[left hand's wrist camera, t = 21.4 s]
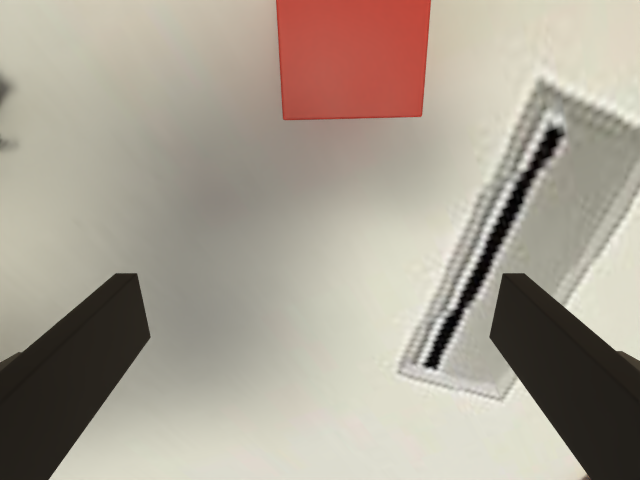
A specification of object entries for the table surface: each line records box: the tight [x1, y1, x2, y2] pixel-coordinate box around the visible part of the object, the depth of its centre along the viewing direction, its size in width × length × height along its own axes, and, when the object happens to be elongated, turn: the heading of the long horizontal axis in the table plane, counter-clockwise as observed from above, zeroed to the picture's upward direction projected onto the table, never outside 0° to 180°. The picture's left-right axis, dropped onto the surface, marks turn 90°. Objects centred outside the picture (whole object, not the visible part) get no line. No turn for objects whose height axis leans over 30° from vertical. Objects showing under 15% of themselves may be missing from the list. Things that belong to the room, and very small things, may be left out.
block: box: [276, 0, 431, 120], centre depth 21 cm, size 8×8×7 cm
